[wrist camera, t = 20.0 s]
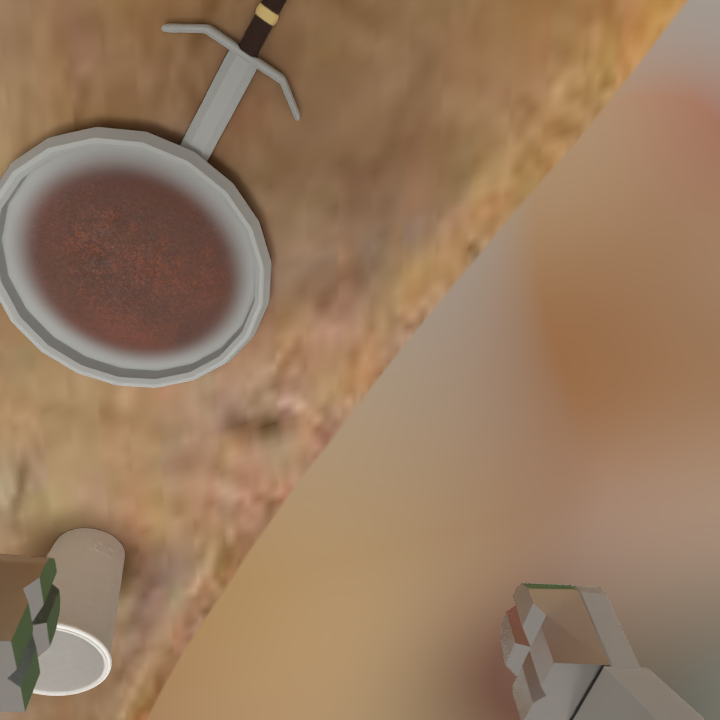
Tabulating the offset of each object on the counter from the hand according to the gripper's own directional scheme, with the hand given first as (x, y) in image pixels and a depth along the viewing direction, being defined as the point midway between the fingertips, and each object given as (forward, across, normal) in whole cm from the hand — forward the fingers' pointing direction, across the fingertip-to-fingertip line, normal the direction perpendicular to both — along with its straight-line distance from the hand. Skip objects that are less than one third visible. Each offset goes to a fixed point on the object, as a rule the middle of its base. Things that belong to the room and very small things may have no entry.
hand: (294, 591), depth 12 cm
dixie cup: (+31, +14, +35) cm, 49 cm away
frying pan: (+32, +8, +4) cm, 33 cm away
